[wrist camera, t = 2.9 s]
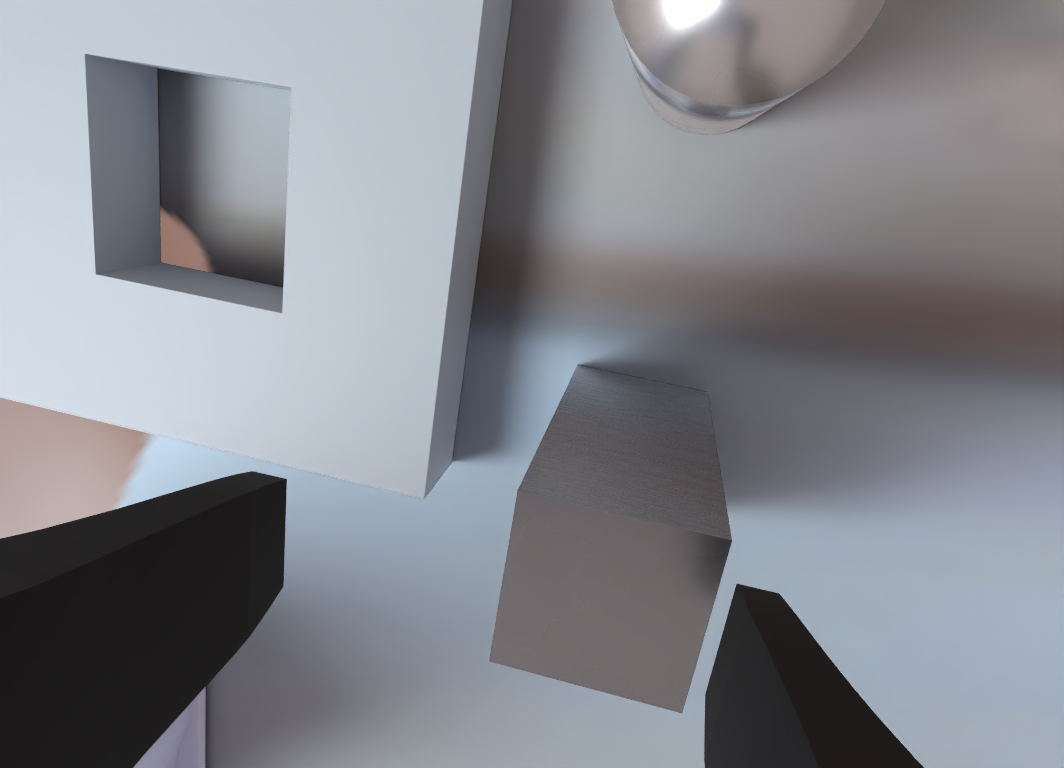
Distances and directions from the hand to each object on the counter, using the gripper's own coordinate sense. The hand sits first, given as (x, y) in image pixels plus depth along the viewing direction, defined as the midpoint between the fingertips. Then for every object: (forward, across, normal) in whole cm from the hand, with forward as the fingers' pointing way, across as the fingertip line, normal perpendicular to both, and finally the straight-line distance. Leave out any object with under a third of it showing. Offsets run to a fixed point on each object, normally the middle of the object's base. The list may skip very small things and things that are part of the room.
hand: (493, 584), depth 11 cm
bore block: (+9, +10, -4) cm, 14 cm away
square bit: (+9, -2, +1) cm, 10 cm away
